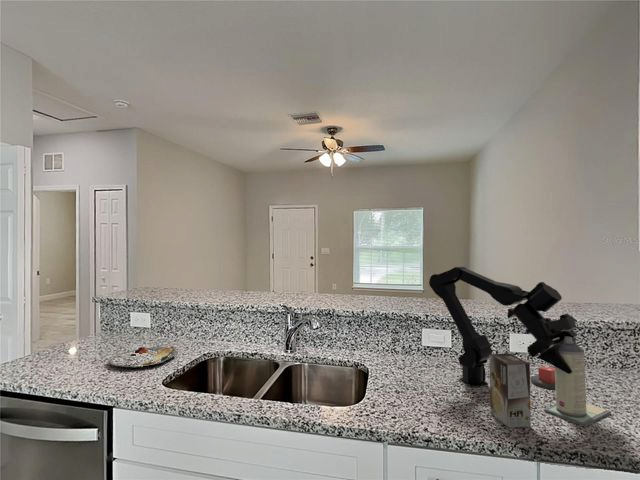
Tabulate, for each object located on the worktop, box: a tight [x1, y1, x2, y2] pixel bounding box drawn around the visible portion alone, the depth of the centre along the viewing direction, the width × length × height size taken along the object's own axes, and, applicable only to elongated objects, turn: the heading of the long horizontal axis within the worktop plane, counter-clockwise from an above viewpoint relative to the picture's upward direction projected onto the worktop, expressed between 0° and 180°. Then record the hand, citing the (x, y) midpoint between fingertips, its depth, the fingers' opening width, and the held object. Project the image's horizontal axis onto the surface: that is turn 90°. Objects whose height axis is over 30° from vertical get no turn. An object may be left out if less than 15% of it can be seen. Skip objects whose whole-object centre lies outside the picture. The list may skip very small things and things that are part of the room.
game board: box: [544, 402, 612, 428], centre depth 102 cm, size 14×10×1 cm
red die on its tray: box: [530, 365, 556, 391], centre depth 123 cm, size 10×10×5 cm
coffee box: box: [488, 353, 532, 429], centre depth 99 cm, size 9×6×16 cm
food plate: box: [108, 346, 179, 368], centre depth 151 cm, size 25×23×4 cm
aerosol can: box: [554, 336, 587, 417], centre depth 101 cm, size 7×7×20 cm
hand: (577, 369), depth 100 cm, fingers open, 8 cm apart
